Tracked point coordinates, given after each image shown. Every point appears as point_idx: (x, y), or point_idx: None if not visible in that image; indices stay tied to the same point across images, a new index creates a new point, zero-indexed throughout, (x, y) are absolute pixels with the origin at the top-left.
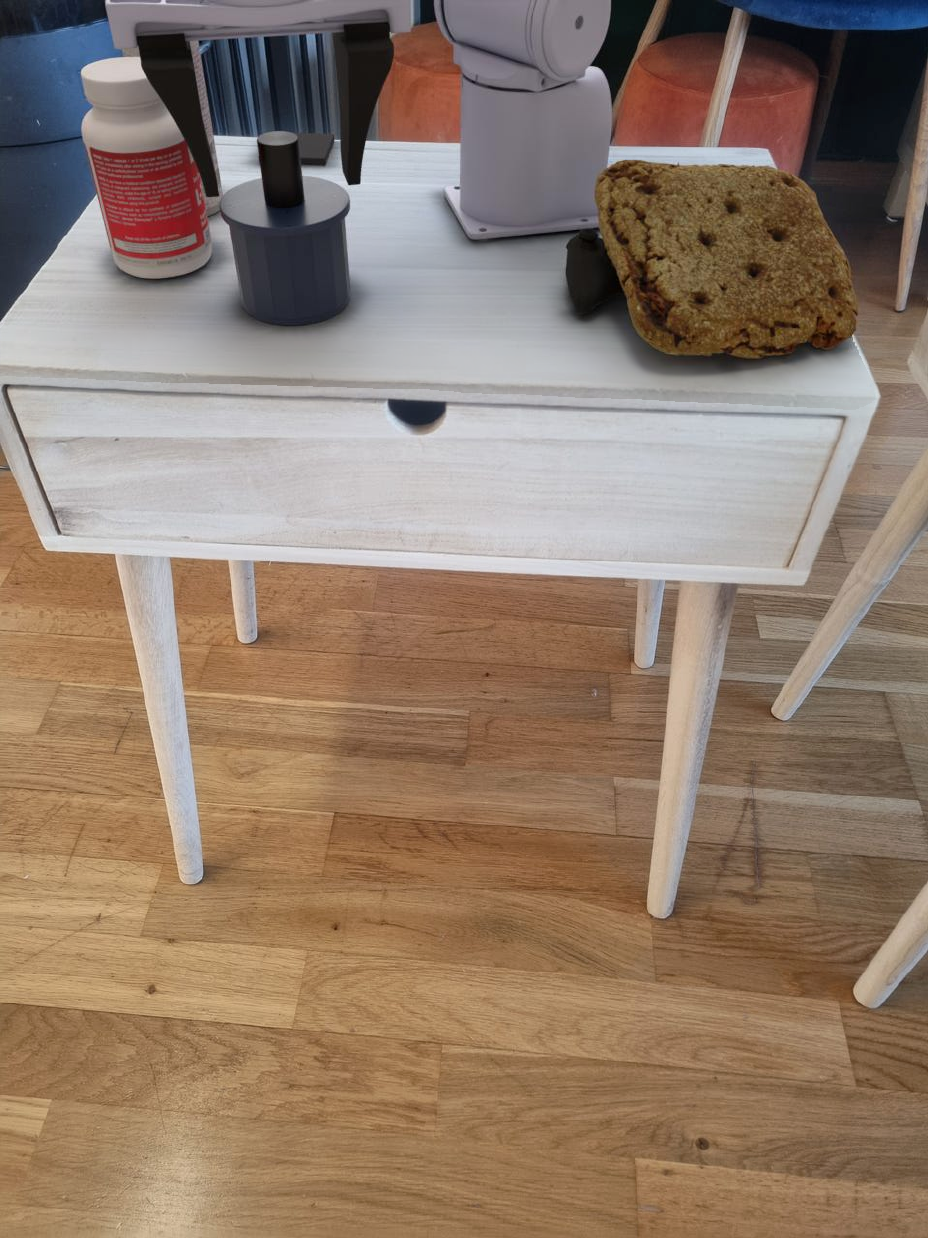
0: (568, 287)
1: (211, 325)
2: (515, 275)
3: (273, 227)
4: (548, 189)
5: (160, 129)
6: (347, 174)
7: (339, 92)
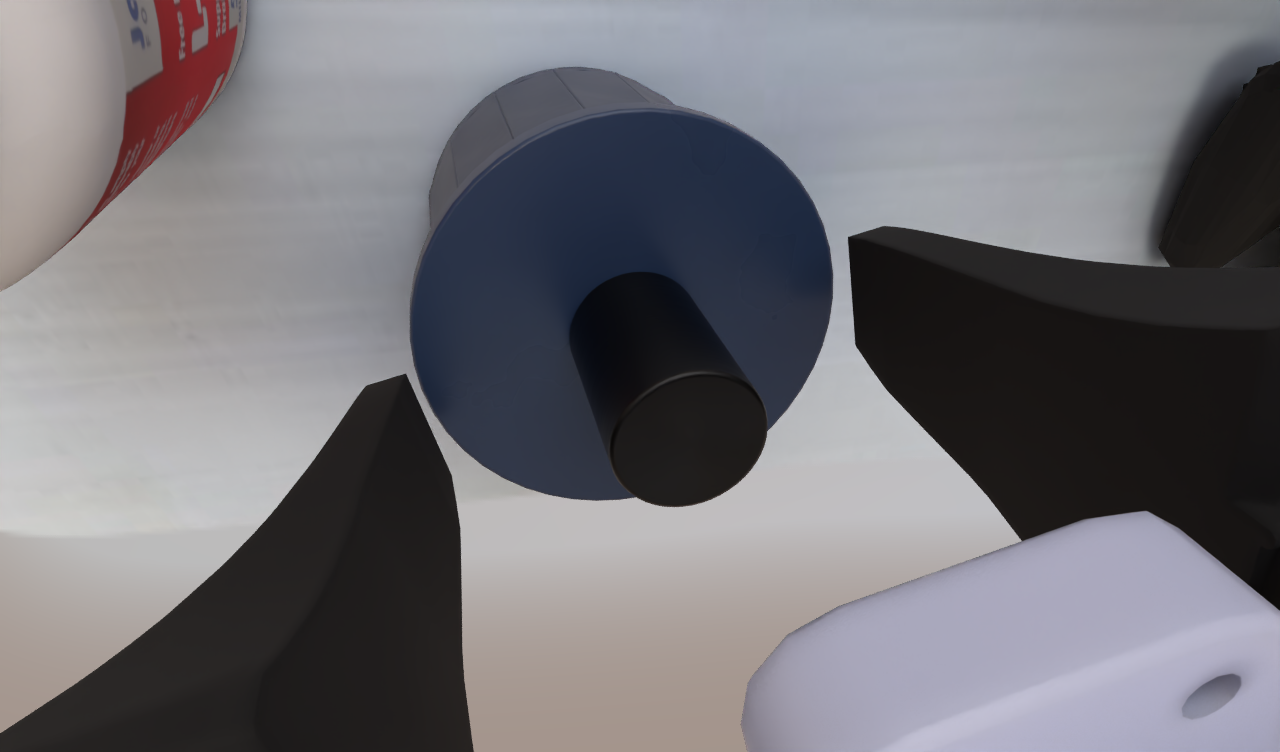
0: (1187, 216)
1: (387, 353)
2: (1110, 51)
3: (621, 498)
4: None
5: (23, 241)
6: (871, 359)
7: (1025, 318)
